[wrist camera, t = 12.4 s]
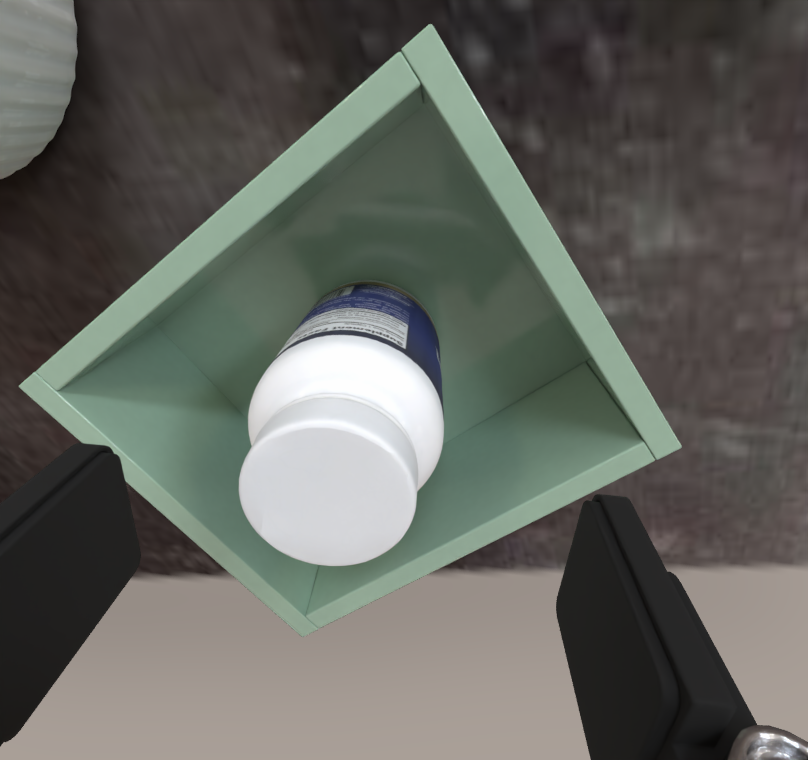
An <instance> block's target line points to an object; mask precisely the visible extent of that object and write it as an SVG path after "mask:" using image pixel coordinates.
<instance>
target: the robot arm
mask: <svg viewBox="0 0 808 760" xmlns="http://www.w3.org/2000/svg"><path fill="white" fill-rule="evenodd" d="M140 557H141V553H140V548H139V543H138V538H137V534H136V529H135V524H134V520H133V515H132V510H131V506H130V501H129V497H128V492H127V487H126V483H125V478H124V473H123V469H122V464H121V460H120V457H119V456H118V455H117V454H114V452H113V450H112V449H111V448H110V447H109V446H106V445H96V444H86V443H77V444H75V445H73V446H71V447H70V448H69V449H68V450H66V451H65V452H64V453H63V454H61V455H60V456H59V457H58V458H56V459H55V460H54V461H53V462H51V463H50V464H49V465H48V466H46V467H45V468H44V469H43V470H41V471H40V472H39V473H38V474H36V475H35V476H34V477H33V478H31V479H30V480H29V481H28V482H27V483H25V484H24V485H23V486H22V487H20V488H19V489H18V490H17V491H15V492H14V493H13V494H12V495H10V496H9V497H8V498H7V499H5V500H4V501H3V502H2V503H0V746H1V745H2V744H3V742H7V741H9V740H11V739H12V738H13V737H14V736H16V734H17V733H18V732H19V731H20V730H21V728H22V727H23V726H24V724H25V722H26V721H27V720H28V719H29V717H30V716H31V714H32V713H33V712H34V710H35V709H36V708H37V706H38V705H39V704H40V702H41V701H42V699H43V698H44V697H45V695H46V694H47V693H48V691H49V690H50V688H51V687H52V685H53V684H54V683H55V682H56V680H57V679H58V677H59V676H60V675H61V673H62V672H63V671H64V669H65V668H66V666H67V665H68V664H69V662H70V661H71V660H72V658H73V657H74V655H75V654H76V653H77V651H78V650H79V649H80V647H81V646H82V644H83V643H84V642H85V640H86V639H87V637H88V636H89V635H90V633H91V632H92V631H93V629H94V628H95V626H96V625H97V624H98V622H99V621H100V620H101V618H102V617H103V616H104V614H105V613H106V611H107V610H108V609H109V607H110V606H111V605H112V603H113V602H114V600H115V599H116V598H117V596H118V595H119V593H120V592H121V591H122V589H123V588H124V587H125V585H126V584H127V583H128V581H129V580H130V578H131V577H132V576H133V574H134V573H135V571H136V570H137V568H138V565H139V562H140ZM556 611H557V619H558V623H559V627H560V631H561V635H562V640H563V644H564V648H565V653H566V657H567V661H568V665H569V669H570V674H571V678H572V682H573V686H574V690H575V694H576V698H577V703H578V707H579V711H580V716H581V720H582V724H583V729H584V733H585V737H586V741H587V746H588V749H589V754H590V758H591V760H808V742H807V741H805V740H803V739H801V738H799V737H797V736H796V735H794V734H792V733H790V732H788V731H785V730H782V729H779V728H775V727H772V726H763V725H757V723H756V721H755V720H754V718H753V716H752V714H751V712H750V711H749V709H748V707H747V705H746V703H745V701H744V699H743V697H742V695H741V694H740V692H739V690H738V688H737V686H736V684H735V683H734V681H733V679H732V677H731V675H730V673H729V671H728V669H727V668H726V666H725V664H724V662H723V660H722V658H721V656H720V655H719V653H718V651H717V649H716V647H715V646H714V643H713V642H712V640H711V638H710V636H709V634H708V632H707V630H706V629H705V627H704V625H703V623H702V621H701V619H700V617H699V616H698V614H697V612H696V610H695V608H694V606H693V604H692V603H691V601H690V599H689V597H688V595H687V593H686V591H685V590H684V588H683V586H682V584H681V582H680V581H679V579H678V578H677V577H676V576H675V575H674V574H673V573H671V572H667V571H666V569H665V567H664V565H663V563H662V561H661V559H660V557H659V555H658V553H657V551H656V549H655V547H654V545H653V544H652V542H651V540H650V538H649V536H648V534H647V532H646V530H645V528H644V526H643V524H642V522H641V520H640V519H639V517H638V515H637V513H636V511H635V509H634V507H633V505H632V503H631V501H630V500H629V499H628V498H627V497H621V496H611V495H600V494H597V495H595V496H594V498H593V500H592V501H585V502H584V503H583V506H582V509H581V513H580V516H579V520H578V524H577V527H576V531H575V535H574V538H573V542H572V545H571V549H570V553H569V556H568V560H567V563H566V567H565V571H564V574H563V578H562V582H561V586H560V589H559V592H558V596H557V602H556Z"/></svg>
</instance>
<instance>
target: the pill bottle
mask: <svg viewBox="0 0 808 760" xmlns="http://www.w3.org/2000/svg"><path fill="white" fill-rule="evenodd" d="M248 431H249V437H250V442H251V445H252V447H251V449H250V451H249V452H248V454H247V456H246V458H245V460H244V463H243V465H242V468H241V472H240V477H239V496H240V502H241V505H242V509H243V511H244V513H245V515H246V517H247V519H248V521H249V522H250V524H251V525H252V527H253V528H254V530H255V531H256V532H257V533H258V534H259V535H260V536H261V537H262V538H263V539H264V540H265V541H266V542H268V543H269V544H270V545H271V546H273V547H274V548H276V549H277V550H279V551H280V552H282V553H284V554H286V555H288V556H290V557H292V558H295V559H298V560H301V561H304V562H307V563H311V564H317V565H324V566H347V565H355V564H359V563H363V562H367V561H369V560H371V559H374V558H376V557H378V556H380V555H382V554H383V553H385V552H387V551H388V550H390V549H391V548H392V547H393V546H395V545H396V544H397V543H398V542H399V541H400V540H401V539H402V538H403V536H404V534H405V533H406V531H407V530H408V528H409V526H410V524H411V522H412V520H413V517H414V514H415V510H416V502H417V491H418V490H419V489H420V488H421V487H422V486H423V485H424V484H425V483H426V481H427V480H428V479H429V477H430V476H431V474H432V473H433V471H434V469H435V467H436V465H437V463H438V460H439V458H440V454H441V451H442V446H443V438H444V409H443V396H442V377H441V360H440V346H439V339H438V334H437V330H436V327H435V324H434V322H433V320H432V318H431V316H430V314H429V312H428V311H427V310H426V308H425V307H424V306H423V304H422V303H421V302H420V301H419V300H418V299H417V298H415V297H414V296H413V295H412V294H410V293H409V292H408V291H406V290H404V289H402V288H400V287H398V286H396V285H393V284H390V283H386V282H382V281H377V280H359V281H353V282H349V283H346V284H343V285H340V286H338V287H336V288H334V289H333V290H331V291H329V292H328V293H327V294H325V295H324V296H323V297H322V298H321V299H320V300H318V301H317V302H316V304H315V305H314V306H313V307H312V308H311V309H310V311H309V312H308V313H307V315H306V316H305V317H304V319H303V320H302V322H301V323H300V324H299V326H298V327H297V329H296V330H295V331H294V333H293V334H292V335H291V337H290V338H289V339H288V341H287V342H286V344H285V345H284V347H283V348H282V349H281V351H280V352H279V353H278V355H277V356H276V357H275V359H274V360H273V361H272V362H271V364H270V365H269V367H268V368H267V370H266V371H265V373H264V374H263V376H262V378H261V379H260V381H259V383H258V384H257V386H256V388H255V391H254V394H253V397H252V399H251V403H250V407H249V413H248Z"/></svg>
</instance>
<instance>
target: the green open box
mask: <svg viewBox="0 0 808 760" xmlns="http://www.w3.org/2000/svg"><path fill="white" fill-rule="evenodd" d="M359 280H377V281H382V282H386V283H390V284H393V285H396V286H398V287H400V288H402V289H404V290H406V291H408V292H409V293H410V294H412V295H413V296H414V297H415V298H417V299H418V300H419V301H420V302H421V303H422V304H423V306H424V307H425V308H426V310H427V311H428V312H429V314H430V316H431V318H432V320H433V322H434V324H435V327H436V330H437V334H438V339H439V346H440V360H441V377H442V396H443V409H444V438H443V446H442V451H441V454H440V458H439V460H438V463H437V465H436V467H435V469H434V471H433V473H432V474H431V476H430V477H429V479H428V480H427V481H426V483H425V484H424V485H423V486H422V487H421V488H420V489H419V490H418V491H417V502H416V510H415V514H414V517H413V520H412V522H411V524H410V526H409V528H408V530H407V531H406V533H405V534H404V536H403V538H402V539H401V540H400V541H399V542H398V543H397V544H396V545H395V546H393V547H392V548H391V549H390V550H388V551H387V552H385V553H383V554H382V555H380V556H378V557H376V558H374V559H371V560H369V561H367V562H363V563H359V564H355V565H347V566H324V565H317V564H311V563H307V562H304V561H301V560H298V559H295V558H292V557H290V556H288V555H286V554H284V553H282V552H280V551H279V550H277V549H276V548H274V547H273V546H271V545H270V544H269V543H268V542H266V541H265V540H264V539H263V538H262V537H261V536H260V535H259V534H258V533H257V532H256V531H255V530H254V528H253V527H252V525H251V524H250V522H249V521H248V519H247V517H246V515H245V513H244V511H243V509H242V505H241V502H240V496H239V477H240V472H241V468H242V465H243V463H244V460H245V458H246V456H247V454H248V452H249V451H250V449H251V447H252V445H251V442H250V437H249V431H248V413H249V407H250V403H251V399H252V397H253V394H254V391H255V388H256V386H257V384H258V383H259V381H260V379H261V378H262V376H263V374H264V373H265V371H266V370H267V368H268V367H269V365H270V364H271V362H272V361H273V360H274V359H275V357H276V356H277V355H278V353H279V352H280V351H281V349H282V348H283V347H284V345H285V344H286V342H287V341H288V339H289V338H290V337H291V335H292V334H293V333H294V331H295V330H296V329H297V327H298V326H299V324H300V323H301V322H302V320H303V319H304V317H305V316H306V315H307V313H308V312H309V311H310V309H311V308H312V307H313V306H314V305H315V304H316V302H317V301H318V300H320V299H321V298H322V297H323V296H324V295H325V294H327V293H328V292H329V291H331V290H333V289H334V288H336V287H338V286H340V285H343V284H346V283H349V282H353V281H359ZM19 388H20V389H22V390H23V391H24V392H25V393H26V394H27V395H28V396H30V397H31V398H32V399H33V400H34V401H35V402H36V403H37V404H39V405H40V406H41V407H42V408H43V409H44V410H45V411H47V412H48V413H49V414H50V415H51V416H52V417H53V418H54V419H56V420H57V421H58V422H59V423H60V424H61V425H62V426H64V427H65V428H66V429H67V430H68V431H69V432H70V433H71V434H73V435H74V436H75V437H76V438H77V439H78V440H79V441H81V442H82V443H86V444H96V445H106V446H109V447H110V448H111V449H112V450H113V452H114V454H117V455H118V456H119V457H120V460H121V464H122V469H123V473H124V478H125V481H126V482H127V483H128V484H129V485H130V486H132V487H133V488H134V489H135V490H136V491H137V492H138V493H139V494H141V495H142V496H143V497H144V498H145V499H146V500H147V501H148V502H150V503H151V504H152V505H153V506H154V507H155V508H156V509H158V510H159V511H160V512H161V513H162V514H163V515H164V516H165V517H167V518H168V519H169V520H170V521H171V522H172V523H173V524H175V525H176V526H177V527H178V528H179V529H180V530H181V531H182V532H184V533H185V534H186V535H187V536H188V537H189V538H190V539H192V540H193V541H194V542H195V543H196V544H197V545H198V546H199V547H201V548H202V549H203V550H204V551H205V552H206V553H207V554H209V555H210V556H211V557H212V558H213V559H214V560H215V561H216V562H218V563H219V564H220V565H221V566H222V567H223V568H224V569H226V570H227V571H228V572H229V573H230V574H231V575H232V576H233V577H235V578H236V579H237V580H238V581H239V582H240V583H241V584H243V585H244V586H245V587H246V588H247V589H248V590H249V591H250V592H252V593H253V594H254V595H255V596H256V597H257V598H258V599H260V600H261V601H262V602H263V603H264V604H265V605H266V606H268V607H269V608H270V609H271V610H272V611H273V612H274V613H275V614H277V615H278V616H279V617H280V618H281V619H282V620H283V621H284V622H286V623H287V624H288V625H289V626H290V627H291V628H292V629H294V630H295V631H296V632H297V633H298V634H299V635H300V636H301V637H304V636H306V635H308V634H310V633H312V632H314V631H316V630H318V628H321V627H323V626H325V625H327V624H329V623H331V622H333V621H335V620H337V619H339V618H341V617H343V616H345V615H347V614H349V613H351V612H353V611H355V610H357V609H359V608H361V607H363V606H365V605H367V604H369V603H371V602H373V601H375V600H377V599H379V598H381V597H383V596H385V595H387V594H389V593H391V592H393V591H395V590H397V589H399V588H401V587H403V586H405V585H407V584H409V583H412V582H414V581H416V580H418V579H420V578H422V577H423V576H426V575H428V574H430V573H432V572H434V571H436V570H438V569H440V568H442V567H444V566H446V565H448V564H450V563H452V562H454V561H456V560H458V559H460V558H462V557H464V556H466V555H468V554H470V553H472V552H474V551H476V550H478V549H480V548H482V547H484V546H486V545H488V544H490V543H492V542H494V541H496V540H498V539H500V538H502V537H504V536H506V535H508V534H510V533H512V532H514V531H516V530H518V529H520V528H522V527H524V526H526V525H528V524H530V523H532V522H534V521H536V520H538V519H540V518H542V517H544V516H546V515H548V514H550V513H552V512H554V511H556V510H558V509H560V508H562V507H564V506H566V505H568V504H570V503H572V502H574V501H576V500H578V499H580V498H582V497H584V496H586V495H588V494H590V493H592V492H594V491H596V490H598V489H600V488H602V487H604V486H606V485H608V484H610V483H612V482H614V481H616V480H618V479H620V478H622V477H624V476H626V475H628V474H630V473H632V472H634V471H636V470H638V469H640V468H642V467H644V466H646V465H648V464H650V463H652V462H654V461H655V459H656V460H658V459H660V458H662V457H664V456H666V455H668V454H670V453H672V452H674V451H676V450H678V449H680V448H681V447H682V446H681V444H680V442H679V441H678V439H677V437H676V435H675V434H674V432H673V430H672V429H671V427H670V425H669V424H668V422H667V420H666V419H665V417H664V415H663V413H662V412H661V410H660V408H659V407H658V405H657V403H656V402H655V400H654V398H653V397H652V395H651V393H650V391H649V390H648V388H647V386H646V385H645V383H644V381H643V380H642V378H641V376H640V375H639V373H638V371H637V369H636V368H635V366H634V364H633V363H632V361H631V359H630V358H629V356H628V354H627V353H626V351H625V349H624V348H623V346H622V344H621V342H620V341H619V339H618V337H617V336H616V334H615V332H614V331H613V329H612V327H611V326H610V324H609V322H608V320H607V319H606V317H605V315H604V314H603V312H602V310H601V309H600V307H599V305H598V304H597V302H596V300H595V298H594V297H593V295H592V293H591V292H590V290H589V288H588V287H587V285H586V283H585V282H584V280H583V278H582V276H581V275H580V273H579V271H578V270H577V268H576V266H575V265H574V263H573V261H572V260H571V258H570V256H569V254H568V253H567V251H566V249H565V248H564V246H563V244H562V243H561V241H560V239H559V238H558V236H557V234H556V232H555V231H554V229H553V227H552V226H551V224H550V222H549V221H548V219H547V217H546V216H545V214H544V212H543V211H542V209H541V207H540V205H539V204H538V202H537V200H536V199H535V197H534V195H533V194H532V192H531V190H530V189H529V187H528V185H527V183H526V182H525V180H524V178H523V177H522V175H521V173H520V172H519V170H518V168H517V167H516V165H515V163H514V161H513V160H512V158H511V156H510V155H509V153H508V151H507V150H506V148H505V146H504V145H503V143H502V141H501V139H500V138H499V136H498V134H497V133H496V131H495V129H494V128H493V126H492V124H491V123H490V121H489V119H488V117H487V116H486V114H485V112H484V111H483V109H482V107H481V106H480V104H479V102H478V101H477V99H476V97H475V95H474V94H473V92H472V90H471V89H470V87H469V85H468V84H467V82H466V80H465V79H464V77H463V75H462V74H461V72H460V70H459V68H458V67H457V65H456V63H455V62H454V60H453V58H452V57H451V55H450V53H449V52H448V50H447V48H446V46H445V45H444V43H443V41H442V40H441V38H440V36H439V35H438V33H437V31H436V30H435V28H434V26H433V25H432V24H429V25H428V26H426V27H425V28H424V29H423V30H422V31H421V32H420V33H418V34H417V35H416V36H415V37H414V38H413V39H412V40H410V41H409V42H408V43H407V44H406V45H405V46H404V47H403V48H402V53H401V52H397V53H396V54H395V55H394V56H393V57H391V58H390V59H389V60H388V61H387V62H386V63H385V64H384V65H382V66H381V67H380V68H379V69H378V70H377V71H376V72H374V73H373V74H372V75H371V76H370V77H369V78H368V79H366V80H365V81H364V82H363V83H362V84H361V85H360V86H359V87H357V88H356V89H355V90H354V91H353V92H352V93H351V94H349V95H348V96H347V97H346V98H345V99H344V100H343V101H342V102H340V103H339V104H338V105H337V106H336V107H335V108H334V109H332V110H331V111H330V112H329V113H328V114H327V115H326V116H324V117H323V118H322V119H321V120H320V121H319V122H318V123H317V124H315V125H314V126H313V127H312V128H311V129H310V130H309V131H307V132H306V133H305V134H304V135H303V136H302V137H301V138H300V139H298V140H297V141H296V142H295V143H294V144H293V145H292V146H290V147H289V148H288V149H287V150H286V151H285V152H284V153H282V154H281V155H280V156H279V157H278V158H277V159H276V160H275V161H273V162H272V163H271V164H270V165H269V166H268V167H267V168H265V169H264V170H263V171H262V172H261V173H260V174H259V175H258V176H256V177H255V178H254V179H253V180H252V181H251V182H250V183H248V184H247V185H246V186H245V187H244V188H243V189H242V190H240V191H239V192H238V193H237V194H236V195H235V196H234V197H233V198H231V199H230V200H229V201H228V202H227V203H226V204H225V205H223V206H222V207H221V208H220V209H219V210H218V211H217V212H216V213H214V214H213V215H212V216H211V217H210V218H209V219H208V220H206V221H205V222H204V223H203V224H202V225H201V226H200V227H198V228H197V229H196V230H195V231H194V232H193V233H192V234H191V235H189V236H188V237H187V238H186V239H185V240H184V241H183V242H181V243H180V244H179V245H178V246H177V247H176V248H175V249H174V250H172V251H171V252H170V253H169V254H168V255H167V256H166V257H164V258H163V259H162V260H161V261H160V262H159V263H158V264H156V265H155V266H154V267H153V268H152V269H151V270H150V271H149V272H147V273H146V274H145V275H144V276H143V277H142V278H141V279H139V280H138V281H137V282H136V283H135V284H134V285H133V286H132V287H130V288H129V289H128V290H127V291H126V292H125V293H124V294H122V295H121V296H120V297H119V298H118V299H117V300H116V301H114V302H113V303H112V304H111V305H110V306H109V307H108V308H107V309H105V310H104V311H103V312H102V313H101V314H100V315H99V316H97V317H96V318H95V319H94V320H93V321H92V322H91V323H90V324H88V325H87V326H86V327H85V328H84V329H83V330H82V331H80V332H79V333H78V334H77V335H76V336H75V337H74V338H72V339H71V340H70V341H69V342H68V343H67V344H66V345H65V346H63V347H62V348H61V349H60V350H59V351H58V352H57V353H55V354H54V355H53V356H52V357H51V358H50V359H49V360H48V361H46V362H45V363H44V364H43V365H42V366H41V367H40V368H38V369H37V371H35V372H34V373H32V374H31V375H30V376H29V377H28V378H27V379H26V380H25V381H23V382H22V383H21V384H20V385H19Z"/></svg>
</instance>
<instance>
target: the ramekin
mask: <svg viewBox="0 0 808 760" xmlns="http://www.w3.org/2000/svg"><path fill="white" fill-rule="evenodd" d="M76 39H77V24H76V19H75V15H74V1H73V0H0V179H3V178H5V177H7V176H10V175H12V174H13V173H14V172H15V171H16V170H19V169H21V168H23V167H25V166H27V165H28V164H29V163H30V162H31V161H32V159H33V158H34V157H35V156H37V155H39V154H40V153H41V152H42V151H43V150H44V148H45V147H46V145H47V144H48V142H49V141H51V140H52V139H53V138H54V136H55V134H56V131H57V129H58V127H59V126H60V124H61V123H62V120H63V117H64V113H65V110H66V108H67V106H68V104H69V103H70V99H71V90H72V85H73V83H74V81H75V63H76V59H77V54H78V50H77V42H76Z"/></svg>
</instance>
